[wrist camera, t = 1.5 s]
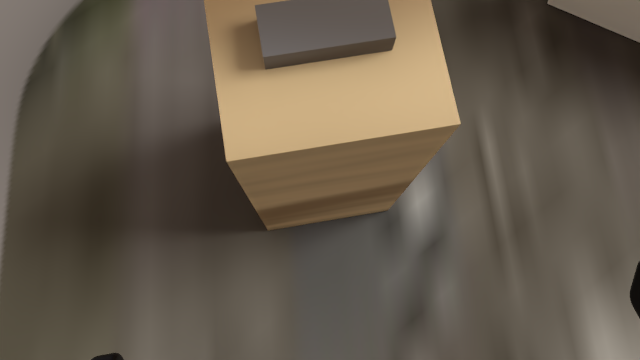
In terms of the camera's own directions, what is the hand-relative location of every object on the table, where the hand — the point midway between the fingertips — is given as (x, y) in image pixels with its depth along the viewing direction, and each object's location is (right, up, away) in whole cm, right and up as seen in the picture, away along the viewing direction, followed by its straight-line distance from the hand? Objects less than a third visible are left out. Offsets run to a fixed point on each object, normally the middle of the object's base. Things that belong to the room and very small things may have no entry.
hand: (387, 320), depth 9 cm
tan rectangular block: (-1, +3, +13) cm, 14 cm away
